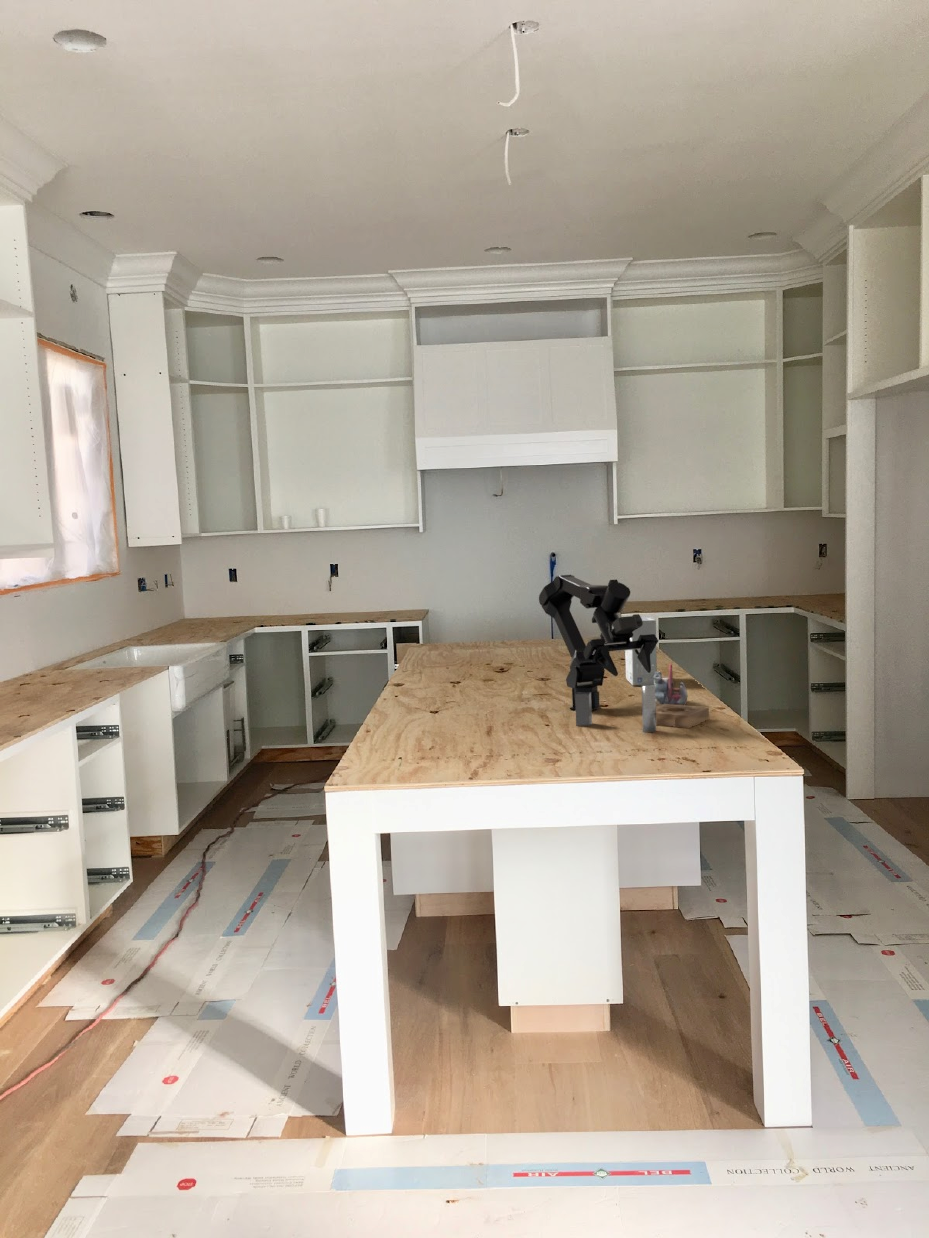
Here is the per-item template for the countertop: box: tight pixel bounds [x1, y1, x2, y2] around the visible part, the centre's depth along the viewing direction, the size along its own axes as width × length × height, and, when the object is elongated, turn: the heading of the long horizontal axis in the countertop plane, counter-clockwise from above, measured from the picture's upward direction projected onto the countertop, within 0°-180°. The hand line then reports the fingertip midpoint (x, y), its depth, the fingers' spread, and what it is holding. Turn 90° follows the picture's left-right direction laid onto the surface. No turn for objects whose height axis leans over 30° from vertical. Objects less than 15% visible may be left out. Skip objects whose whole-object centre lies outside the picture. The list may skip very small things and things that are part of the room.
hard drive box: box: [624, 616, 658, 687], centre depth 308 cm, size 16×8×20 cm, turn 179°
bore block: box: [656, 704, 710, 729], centre depth 248 cm, size 12×12×3 cm
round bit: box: [641, 685, 657, 733], centre depth 238 cm, size 3×3×11 cm
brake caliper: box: [654, 663, 689, 705], centre depth 272 cm, size 11×11×12 cm
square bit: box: [575, 692, 593, 727], centre depth 249 cm, size 3×3×8 cm
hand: (633, 673), depth 243 cm, fingers open, 9 cm apart
